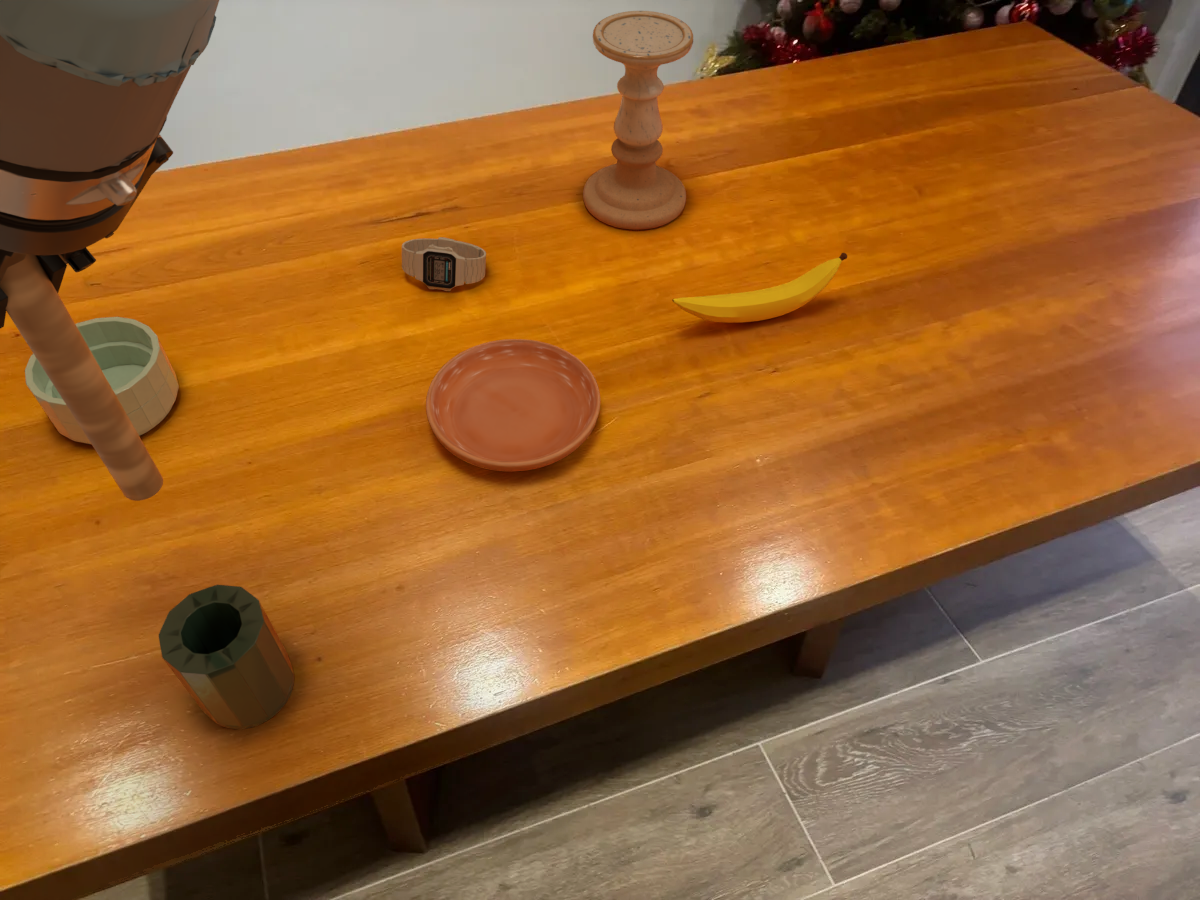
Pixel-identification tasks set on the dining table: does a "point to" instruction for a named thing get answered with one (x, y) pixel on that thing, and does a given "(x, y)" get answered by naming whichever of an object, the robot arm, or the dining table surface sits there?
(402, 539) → the dining table surface
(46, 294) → the stick
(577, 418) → the saucer
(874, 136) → the dining table surface
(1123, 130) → the dining table surface
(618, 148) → the candle holder
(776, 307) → the banana
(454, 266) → the wristwatch
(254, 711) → the holder
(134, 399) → the bowl
